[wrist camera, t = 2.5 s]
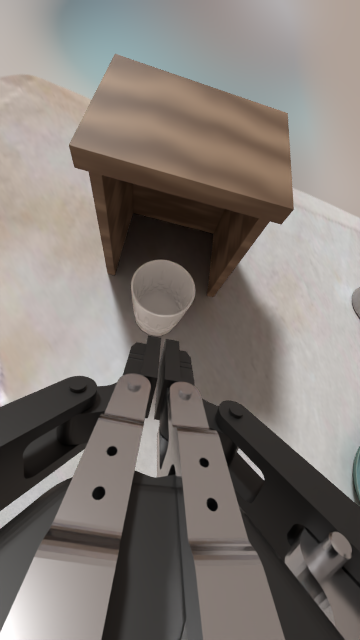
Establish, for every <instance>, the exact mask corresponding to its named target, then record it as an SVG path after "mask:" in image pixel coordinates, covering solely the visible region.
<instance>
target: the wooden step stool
mask: <svg viewBox="0 0 360 640" xmlns="http://www.w3.org/2000/svg"><path fill="white" fill-rule="evenodd" d="M69 147H70V151H71V156H72V160H73V164H74V167H75V168H78V169H82V170H85V171H89V176H90V181H91V186H92V192H93V197H94V203H95V208H96V213H97V219H98V224H99V230H100V235H101V240H102V246H103V251H104V256H105V262H106V267H107V273H108V274H112V275H115V273H116V270H117V266H118V263H119V260H120V256H121V253H122V249H123V246H124V242H125V239H126V235H127V232H128V228H129V225H130V222H131V218H132V215H133V213H136V214H140V215H144V216H147V217H151V218H155V219H159V220H163V221H167V222H171V223H174V224H178V225H182V226H186V227H190V228H194V229H198V230H201V231H205V232H209V233H213V234H214V235H213V244H212V253H211V262H210V272H209V281H208V290H207V296H211V297H214V296H215V294H216V293H217V292H218V290H219V289H220V288H221V286H222V285H223V284H224V282H225V281H226V280H227V278H228V277H229V275H230V274H231V273H232V271H233V270H234V269H235V267H236V266H237V265H238V263H239V262H240V261H241V259H242V258H243V257H244V255H245V254H246V253H247V251H248V250H249V249H250V247H251V246H252V245H253V243H254V242H255V241H256V239H257V238H258V237H259V235H260V234H261V232H262V231H263V230H264V228H265V227H266V226H267V224H268V223H269V222H270V221H271V222H274V223H278V224H282V223H283V222H284V221H285V219H286V218H287V217H288V216H289V214H290V213H291V212H292V211H293V210H294V207H293V191H292V175H291V160H290V144H289V129H288V113H285V112H282V111H280V110H276V109H274V108H271V107H268V106H265V105H262V104H259V103H256V102H253V101H251V100H248V99H245V98H242V97H239V96H236V95H232V94H230V93H227V92H224V91H221V90H218V89H216V88H213V87H210V86H207V85H204V84H201V83H198V82H195V81H192V80H190V79H187V78H184V77H181V76H178V75H175V74H172V73H169V72H166V71H163V70H161V69H157V68H155V67H152V66H148V65H146V64H143V63H140V62H137V61H134V60H131V59H129V58H126V57H123V56H120V55H117V54H115V55H114V57H113V59H112V61H111V63H110V65H109V67H108V69H107V71H106V73H105V75H104V77H103V79H102V81H101V83H100V85H99V87H98V88H97V90H96V92H95V95H94V96H93V98H92V100H91V102H90V104H89V106H88V108H87V110H86V112H85V114H84V116H83V118H82V120H81V122H80V124H79V126H78V128H77V130H76V132H75V134H74V136H73V138H72V140H71V142H70V144H69Z"/></svg>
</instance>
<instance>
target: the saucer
mask: <svg viewBox="0 0 360 640" xmlns="http://www.w3.org/2000/svg"><path fill="white" fill-rule="evenodd" d="M353 476H354V484H355V488H356V492H357V495H358V498H359V501H360V447H359V449H358V451H357V453H356V456H355V459H354V465H353Z"/></svg>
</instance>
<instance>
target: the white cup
mask: <svg viewBox="0 0 360 640" xmlns="http://www.w3.org/2000/svg"><path fill="white" fill-rule="evenodd" d="M131 292H132V303H133V309H134V314H135V318H136V323H137V324H138V326H139V327H140V329H141V330H142V331H144V332H145V333H147V334H149V335H155V336H161V335H163V334H166V333H169V332H170V331H171V330H172V328H173V327H174V326H175V325H176V324H177V323H178V322H179V321H180V319H181V318H182V317H183V315H184V314H185V312H186V311H187V310H188V308H189V307H190V305H191V304H192V302H193V300H194V297H195V284H194V281H193V279H192V277H191V275H190V274H189V272H188V271H187V270H186V269H185V268H184V267H182V266H181V265H179V264H177V263H175V262H173V261H169V260H162V259H159V260H152V261H149V262H147V263H145V264H143V265H142V266H140V267H139V268H138V269H137V270H136V272H135V273H134V275H133V277H132V281H131Z"/></svg>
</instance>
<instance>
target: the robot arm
mask: <svg viewBox="0 0 360 640" xmlns="http://www.w3.org/2000/svg"><path fill="white" fill-rule="evenodd" d="M352 303H353V307H354V309H355V311H356V313H357V314H358V316H359V317H360V287H359V288H358V289H356V290H355V291H354V293H353V295H352ZM160 343H161V338H158V337H153V336H148V339H147V344H143V343H138V342H137V343H136V344H134V345H133V346H132V347H131V350H130V353H129V357H128V360H127V363H126V366H125V370H124V373H123V376H122V377H120V378H119V380H118V382H117V383H115V384H112V385H108V386H98V387H97V385H96V383H95V381H94V380H92V379H91V378H88V377H84V376H74V377H70V378H67V379H65V380H62V381H60V382H58V383H55V384H53V385H51V386H48V387H46V388H44V389H41V390H39V391H37V392H34V393H32V394H30V395H27V396H25V397H23V398H20V399H18V400H16V401H13V402H11V403H9V404H6V405H4V406H2V407H0V511H1V510H2V509H4V508H5V507H6V506H8V505H9V504H10V503H12V502H13V501H15V500H16V499H17V498H19V497H20V496H21V495H23V494H24V493H25V492H27V491H28V490H29V489H31V488H32V487H34V486H35V485H36V484H38V483H39V482H40V481H42V480H43V479H44V478H46V477H47V476H48V475H50V474H51V473H52V472H54V471H55V470H57V469H58V468H59V467H61V466H62V465H63V464H65V463H66V462H67V461H69V460H70V459H71V458H73V457H74V456H75V455H77V454H78V453H80V452H81V451H82V450H84V449H85V450H84V453H83V455H82V457H81V459H80V462H79V464H78V466H77V469H76V471H75V473H74V475H73V477H72V478H69V479H67V480H65V481H63V482H61V483H59V484H57V485H56V486H54V487H53V488H51V489H50V490H48V491H47V492H45V493H44V494H43V495H42V496H40V497H39V498H38V499H37V500H35V501H34V502H33V503H32V504H31V505H29V506H28V507H27V508H26V509H24V510H23V511H22V512H21V513H19V514H18V515H17V516H16V517H15V518H13V519H12V520H11V521H10V522H8V523H7V524H6V525H5V526H3V527H2V528H1V529H0V640H360V507H359V506H358V505H357V504H355V503H354V502H353V501H352V500H351V499H350V498H349V497H347V496H346V495H345V494H344V493H343V492H342V491H340V490H339V489H338V488H337V487H336V486H335V485H334V484H332V483H331V482H330V481H329V480H328V479H327V478H325V477H324V476H323V475H322V474H321V473H320V472H319V471H317V470H316V469H315V468H314V467H313V466H312V465H311V464H309V463H308V462H307V461H306V460H305V459H304V458H302V457H301V456H300V455H299V454H298V453H297V452H296V451H294V450H293V449H292V448H291V447H290V446H289V445H287V444H286V443H285V442H284V441H283V440H282V439H281V438H279V437H278V436H277V435H276V434H275V433H274V432H272V431H271V430H270V429H269V428H268V427H267V426H266V425H264V424H263V423H262V422H261V421H260V420H259V419H257V418H256V417H255V416H254V415H253V414H252V413H251V412H249V411H248V410H247V409H246V408H245V407H243V406H242V405H241V404H239V403H237V402H234V401H223V402H222V403H221V404H220V405H219V406H216V405H214V404H211V403H209V402H207V401H205V400H204V399H202V397H201V394H200V391H199V390H198V389H197V388H196V387H195V385H194V378H193V371H192V365H191V357H190V356H189V355H188V353H187V352H186V351H180V350H179V341H174V340H169V339H166V340H165V343H164V347H163V352H162V356H161V360H160V364H159V356H160ZM158 368H159V370H158ZM157 379H158V380H157ZM156 383H157V392H156V404H155V416H154V419H156V420H160V426H159V429H158V433H157V478H154V477H150V476H147V475H145V474H142V473H140V472H137V471H135V465H136V460H137V455H138V450H139V445H140V440H141V435H142V430H143V425H144V420H145V418H148V415H149V411H150V407H151V403H152V399H153V395H154V391H155V387H156ZM239 448H240V449H241V450H242V451H243V452H244V453H245V454H246V455H247V456H248V457H249V458H250V460H251V461H252V462H253V463H254V464H255V465H256V466H257V467H258V468H259V469H260V470H261V471H262V473H263V475H264V479H265V481H264V480H263V479H262V478H261V477H260V476H259V475H258V474H257V473H256V472H255V471H254V470H253V469H252V468H251V467H250V466H249V465H248V464H247V462H246V461H245V460H244V459H243V458H242V457H241V456H240V455H239V454H238V453H237V451H238V449H239Z"/></svg>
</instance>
